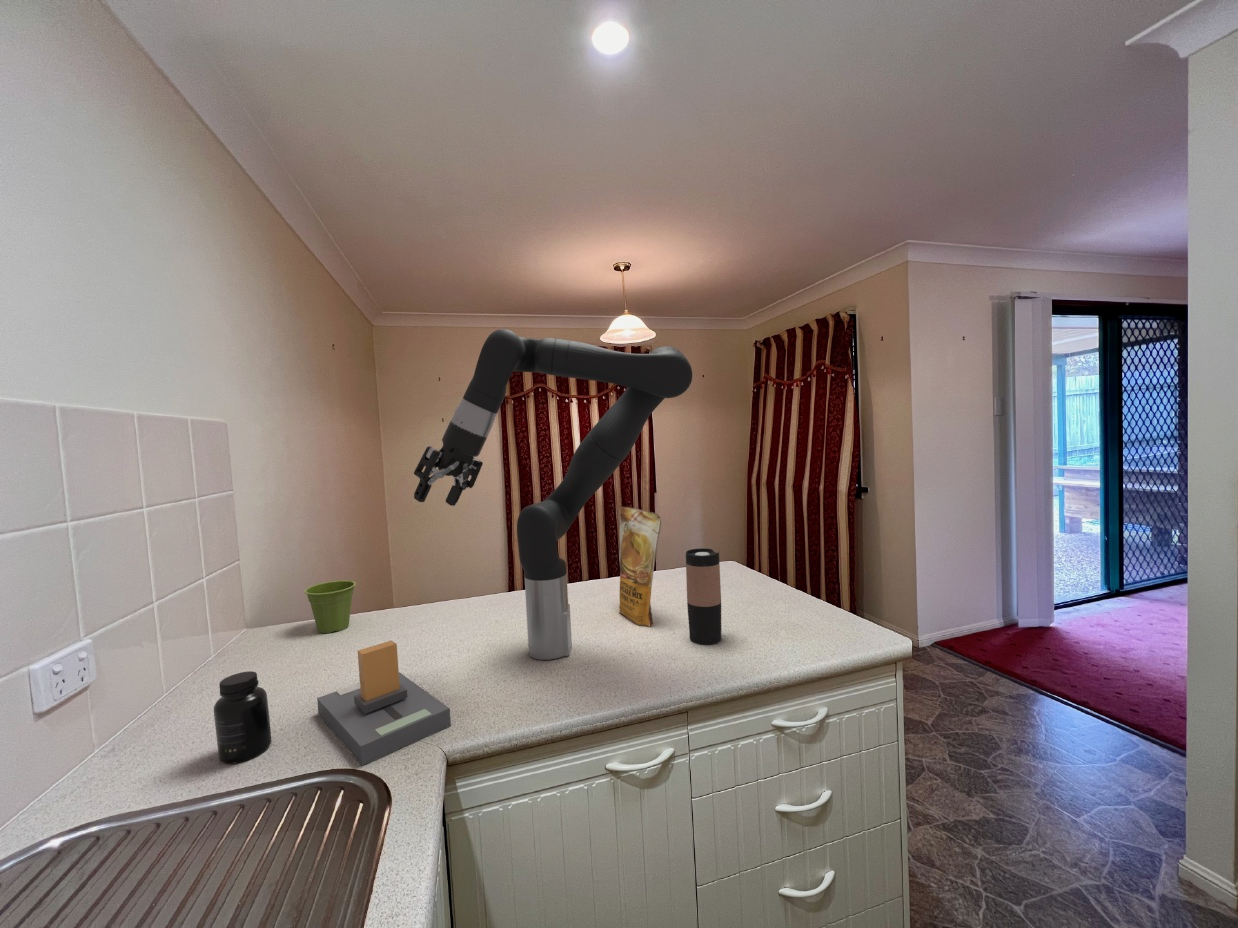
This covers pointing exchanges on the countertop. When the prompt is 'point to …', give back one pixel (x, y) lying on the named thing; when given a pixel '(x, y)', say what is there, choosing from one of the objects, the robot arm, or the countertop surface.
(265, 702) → the supplement bottle
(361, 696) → the handle
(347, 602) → the plant pot
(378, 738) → the switch console
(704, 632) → the travel mug
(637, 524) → the pancake mix bag
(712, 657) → the countertop surface
